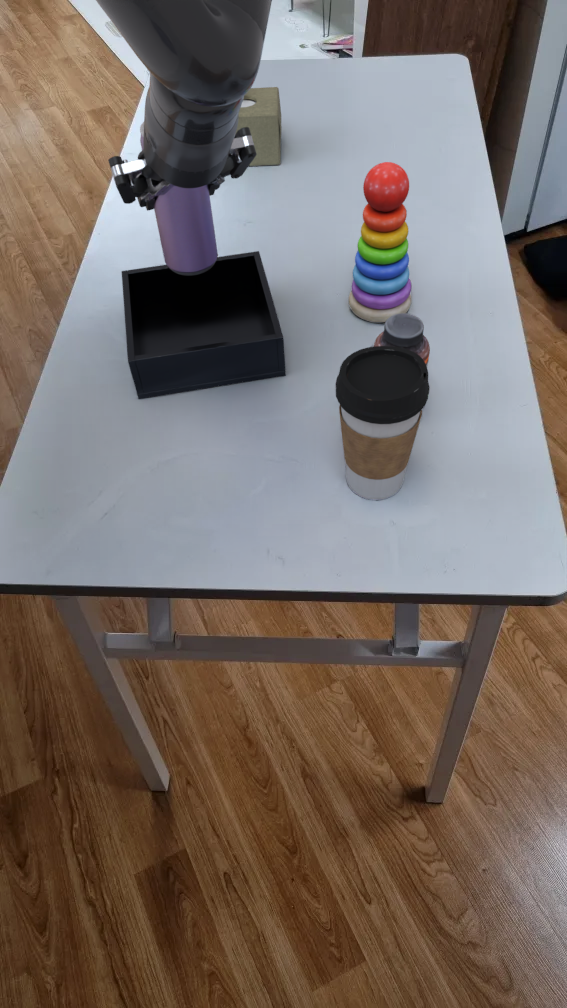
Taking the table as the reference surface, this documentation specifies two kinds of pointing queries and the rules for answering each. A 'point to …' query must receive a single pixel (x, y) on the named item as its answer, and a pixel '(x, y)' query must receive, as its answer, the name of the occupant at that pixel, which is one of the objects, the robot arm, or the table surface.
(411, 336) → the supplement bottle
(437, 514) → the table surface
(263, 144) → the tissue box
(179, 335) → the black open storage bin
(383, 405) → the coffee cup
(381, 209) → the stacking toy
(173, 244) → the beverage can
